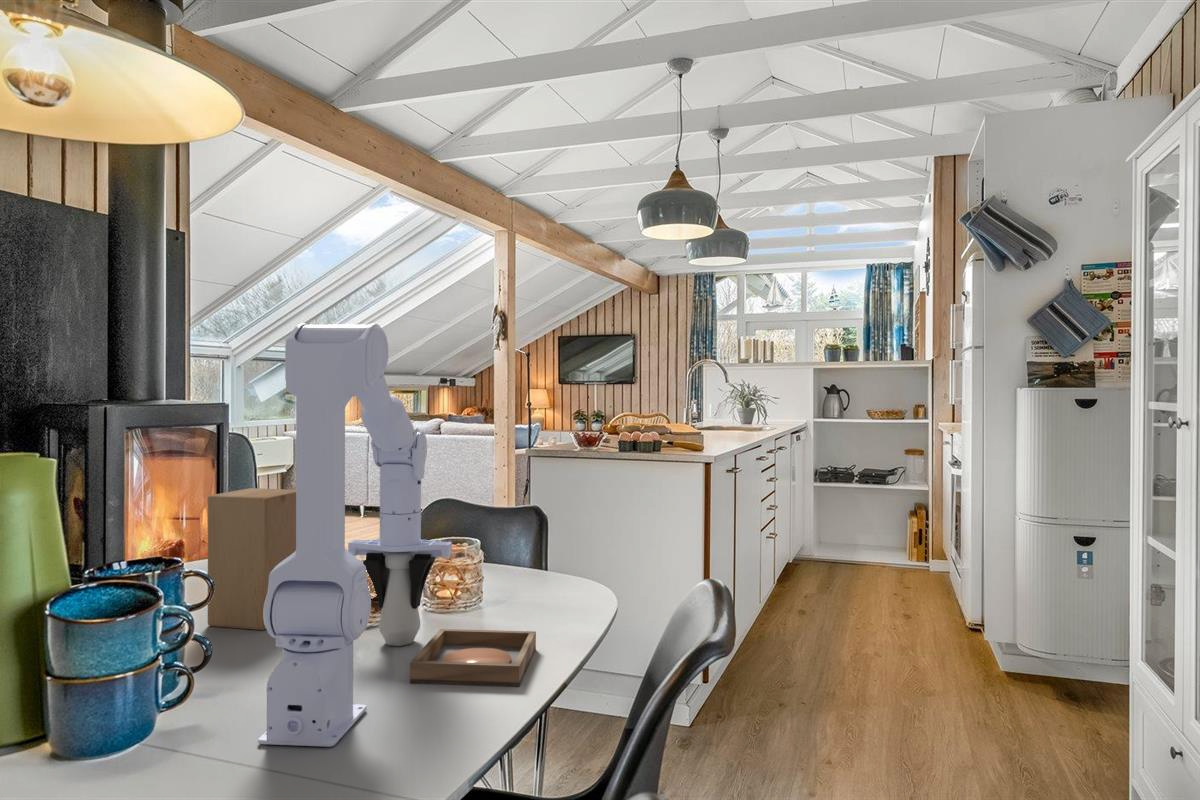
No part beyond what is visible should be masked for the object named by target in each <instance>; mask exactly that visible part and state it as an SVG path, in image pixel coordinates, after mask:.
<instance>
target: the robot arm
mask: <svg viewBox="0 0 1200 800" xmlns="http://www.w3.org/2000/svg"><path fill="white" fill-rule="evenodd" d="M284 347H285V348H284V349H285V352H284V355H285V356H284V357H285V358H284V359H285V361H284V364H285V365H284V366H285V367H284V369H285V370H284V371H285V374H284V376H285V377H284V379H285V380H284V381H285V391H286V393H289V394H291V395H293V397H295V399H296V400H295V401H296V408H295V412H296V419H295V421H296V422H295V423H296V424H295V425H296V426H295V430H296V431H295V432H296V434H295V435H296V436H295V439H296V440H295V442H296V443H295V444H296V447H295V450H296V451H295V452H296V453H295V455H296V456H295V457H296V458H295V459H296V460H295V465H296V466H295V468H296V469H295V471H296V472H295V476H296V477H295V483H296V484H295V485H296V486H295V490H296V551H295V552H294V553H293V554H291V555H290V556H289V557H287V558H286V559H284V560H283V561H282V562H280V563H279V564H278V565H277V566H276V567H275V568H274V569H273V570H272V571H271V572H270V574H269V584H268V591H267V596H266V599H265V602H264V608H263V620H264V624H265V627H266V629H265V630H266V631H267V633H268V635H269V636H270V637H272V638H274V639H275V647H277V648H278V647H279V648H282V649H281V656H280V657H281V658H280V661H279V663H278V664H277V666H276V667H274V669H273V671H272V672H271V673H270V675H269V676H268V680H267V684H266V731H265V732H264V733H263V734H262V735H261V736H260V737H258V739H257V743H258V744H259V745H275V746H276V745H279V746H302V747H305V746H306V747H333V746H335V745H336V744H337V743H339V741H340V739H341V738H342V737H343V736H344V735H346V733H347V732H348V730H350V729H351V727H353V725H354V724H355V723H356V722H357V721H358V720H359V718H361V716H362V715H363V714H364V713H365V712H366V711H367V705H366V704H358V703H357V704H356V703H355V704H354V641H356V640H358V639H359V638H360V637H361V635H362V634H363V633H364V632H365V631H366V629H367V627H368V624H369V621H370V617H371V612H372V611H371V610H372V600H371V595H370V591H369V588H368V582H367V572H368V574H369V576H370V578H371V580H372V582H373V585H374V588H375V591H376V594H377V597H376V599H377V601H378V607H379V608H380V609H382V608H383V604H384V598H385V589H386V584H387V578H388V573H389V569H388V568H386V566H385V556H386V554H387V553H388V552H409V551H412V552H411V554H413V556H415V558H413V559H412V560H410V561H409V568H410V575H411V607H412V608H413V609H416V608H417V607H418V608H419V607H420V606H421V601H422V595H423V591H424V589H425V584H426V581H427V579H428V576H429V573H430V571H431V569H432V566H433V565H434V562H435V560H436V558H437V557H438V558H439V557H440V558H441V559H448V558H450V557H451V556H453V553H452V552H453V548H452V547H453V543H452V541H440V540H430V539H429V540H428V539H422V537H421V535H422V532H421V531H422V522H421V521H422V480H423V479H424V477H425V468H426V467H425V465H426V461H427V453H428V442H427V441H428V440H427V437H426V433H425V432H424V431H420V429H419V428H418V427H417V428H415V427H414V425H413V423H412V420H411V418H410V416H409V414H408V412H407V409H406V408H405V405H404V403H403V402H402V400H401V399H400V398H399V397H397V396H395V395H393V394H391V393H390V389H389V388H388V383H387V380H386V378H385V372H386V370H387V366H388V363H389V342H388V338H387V334H386V333H385V331H384V330H383V329H382V327H381V326H380V325H379V324H378V323H370V324H309V323H299V324H297V325H296V326H294V328H293V329H292V331H291V332H290V334H289V336H288V337H287V338H286V339H285V345H284ZM353 397H356V398H357V400H358V401H359V403H360V404H361V405H362V410H361V412H360V413H361V414H360V419H361V422H362V424H363V425H364V428H365V429H366V431H367V433H368V434H369V436H370V438H371V442H370V445H371V450H372V456H373V461H374V465H376V466H377V467H378V468H379V538H380V539H379V538H377V539H353V540H351V541H349V542H348V545H347V548H348V549H347V548H346V544H345V543H346V542H345V541H346V538H345V537H346V536H345V535H346V534H345V533H346V527H345V525H346V407H347V405H348V404H349V403H350V401H351V399H352V398H353ZM364 555H366V560H364V561H363V560H360V559H358V558H357V556H364ZM361 561H363V563H362V562H361ZM366 570H367V572H366Z"/></svg>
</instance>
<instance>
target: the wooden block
mask: <svg viewBox="0 0 1200 800" xmlns="http://www.w3.org/2000/svg"><path fill="white" fill-rule="evenodd" d="M295 551H296V489H288V488H287V489H286V488H285V489H283V488H255V487H249V488H243V489H239V490H238V489H237V490H232V491H228V492H222V493H215V494H210V495H209V496H208V497H207V576H208V575H209V576H210V577H211V578H212V579H213V580H214V583H215V592H214V596H213V598H212V600H211V601H210V603H209V604H208V603H207V626H208V627H209V626H210V627H218V628H219V627H220V628H231V629H232V628H233V629H242V630H243V629H245V630H246V629H247V630H255V631H256V630H257V631H265V630H267V629H266V627H265V624H264V620H263V608H264V602H265V599H266V596H267V591H268V584H269V574H270V572H271V571H272V570H273V569H274V568H275V567H276V566H277V565H278V564H279V563H280V562H282V561H283V560H284V559H286V558H287V557H289V556H290V555H291V554H293V553H294V552H295ZM208 594H209V586H208V585H207V595H208Z"/></svg>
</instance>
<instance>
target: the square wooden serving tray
mask: <svg viewBox="0 0 1200 800" xmlns="http://www.w3.org/2000/svg"><path fill="white" fill-rule="evenodd" d="M536 645H537V631H534V630H533V631H531V630H530V631H528V630H527V631H526V630H525V631H524V630H497V629H496V630H494V629H491V630H489V629H459V628H458V629H452V628H439V630H438V631H437V632H436V633H435V634H434V635H433V636H432V638H431V639H430V640H429V641H428V642H427V643H426V644H425V646H424V647H422V649H421V650H420V651H419V652H418V653H417V654H416V656H415V657H414V658H413V659H412V660H411V661H410V662H409V683H410V684H423V685H424V684H430V685H434V684H435V685H460V686H462V685H463V686H487V687H488V686H492V687H517V688H518V687H520V686H521V684H522V681H523V679H524V676H525V674H526V672H527V670H528V667H529V665H530V663H531V660H532V659H533V656H534V654H535V652H536V650H537V646H536ZM469 648H494V649H499V650H502V651H505V652H507V653H508V654H510V656H511V663H510V664H509V663H476V662H443V661H442V659H443V658H444V657H445V656H446V655H448V654H450V653H452V652H455V651H458V650H463V649H469Z"/></svg>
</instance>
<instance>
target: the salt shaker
mask: <svg viewBox="0 0 1200 800" xmlns="http://www.w3.org/2000/svg"><path fill="white" fill-rule="evenodd" d="M411 552H412V551H409V552H388V553H387V554H386V556H385V566H386V568H388V569H389V573H388V578H387V584H386V589H385V598H384V604H383V608H381V613H380V617H379V623H378V630H379V632H380V634H381V636H382V638H383V639H384V642H385V643H386V644H387V646H396V647H402V646H405V645H409V644H410V645H411V644H413V642H414V641H415V638H416V636H417V634H418V632H419V630H420V629H421V618H420V612H419V607H417V608H416V609H413V608H412V607H411V575H410V568H409V561H410V560H412V559H413V558H415V556H413V554H411Z"/></svg>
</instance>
